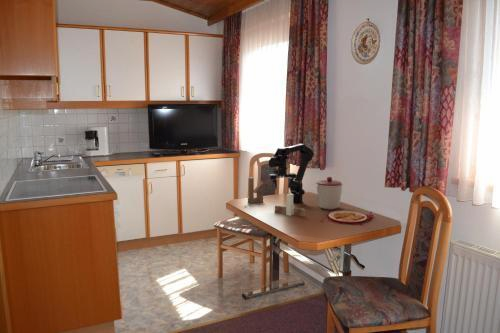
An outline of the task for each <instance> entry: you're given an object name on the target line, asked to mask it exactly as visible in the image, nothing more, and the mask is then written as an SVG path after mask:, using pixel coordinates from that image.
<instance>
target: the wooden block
mask: <svg viewBox="0 0 500 333" xmlns="http://www.w3.org/2000/svg"><path fill="white" fill-rule="evenodd" d="M247 180H248V197H247V203H248V204H256V203H263V202H264V182H263V181H260V182H259V184H258V185H256V187H255V186H254V185H255V184H254V181H255V180H254V177H248V178H247ZM254 187H255V188H254ZM254 194H256V196H254Z"/></svg>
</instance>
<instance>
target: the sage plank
mask: <svg viewBox="0 0 500 333" xmlns="http://www.w3.org/2000/svg"><path fill="white" fill-rule="evenodd" d="M285 196H286V198H285V200H286V202H285V203H286V206H285V207H286V214H285V215H286V216H292V215H293V216H294V203H293V194H292V193H287V194H286V195H285Z"/></svg>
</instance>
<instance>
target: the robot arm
mask: <svg viewBox="0 0 500 333" xmlns="http://www.w3.org/2000/svg"><path fill="white" fill-rule="evenodd" d="M294 152H299V153H300V161H301V162H300V163H299V166H298V169H297V173H295V172H288V173H287V170H288V165H287V164H288V163H287V162H288V160H289V159H290V157H289V155H291V153H294ZM314 155H315V154H314V151H313V149H311V148H310V147H308V146H307V145H306V144H304V143H297V144H295V145H290V146H285V147H284V146H279V147H277V149H276V151H275V153H274V155H273V156H271V157H270V159H269V160H268V162H267V163H268V166H269V167H270V168H272V173H271V174H268V175H267V179H269V180H271V181H272V183H273V187H274V189H275V190H277V188H278V186H277V184H278V182H277V181H278V180H277V179H279V178H280V179H282V178H287V189H289V191H290V194H293V204H304V202H303V195H305V192H306V191H305V189H303V186H304V185H303V179H304V176H305V173H306V170H307V167H308V164H309V162H310V161H311V160H312V159H313V157H314ZM276 168H277V169H276Z"/></svg>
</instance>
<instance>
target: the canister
mask: <svg viewBox="0 0 500 333" xmlns="http://www.w3.org/2000/svg"><path fill="white" fill-rule="evenodd" d="M315 185H316V194H317V195H316V196H317V203H318V206H319V208H321V209H324V210H335V209H338V208H339V207H340V205H341V198H342V196H341V195H342V192H343V186H344V183H343V182H341V181H339V180H335V179H333V178H332V176H327V178H326V179H322V180H318V181H317V182H315Z"/></svg>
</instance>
